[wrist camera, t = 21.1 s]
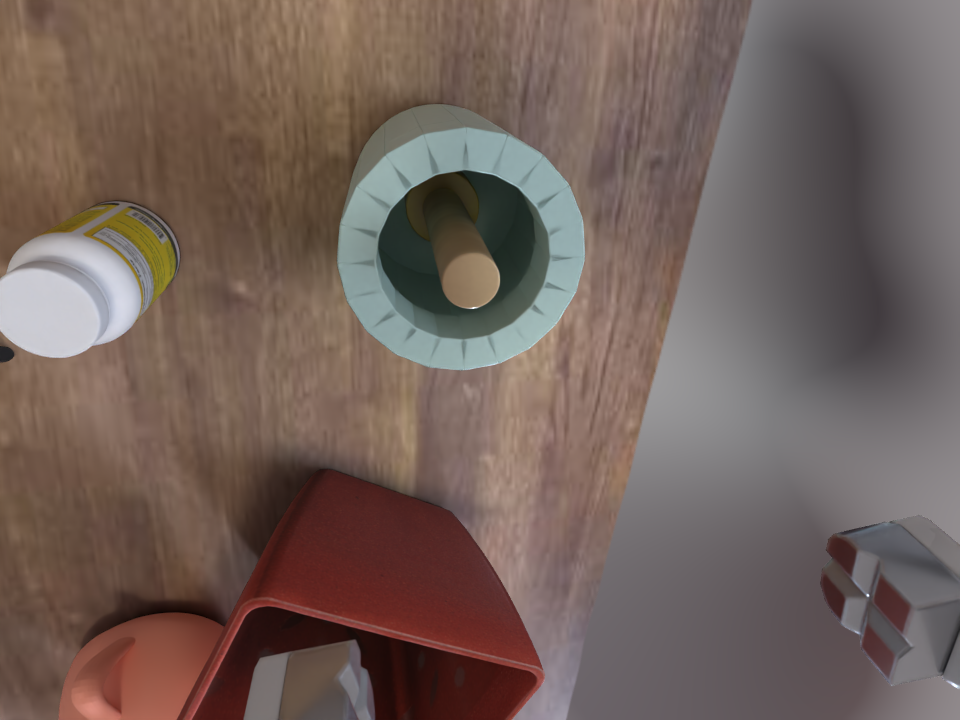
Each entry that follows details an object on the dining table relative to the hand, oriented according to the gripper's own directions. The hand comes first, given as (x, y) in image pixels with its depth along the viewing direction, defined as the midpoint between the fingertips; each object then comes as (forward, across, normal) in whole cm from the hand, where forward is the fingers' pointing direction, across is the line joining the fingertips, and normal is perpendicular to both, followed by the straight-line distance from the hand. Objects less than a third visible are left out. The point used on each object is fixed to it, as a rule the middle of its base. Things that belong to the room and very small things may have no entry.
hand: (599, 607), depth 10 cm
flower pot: (+33, +12, +28) cm, 45 cm away
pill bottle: (+33, +20, 0) cm, 39 cm away
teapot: (+33, +31, +38) cm, 59 cm away
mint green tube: (+33, 0, 0) cm, 33 cm away
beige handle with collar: (+32, 0, 0) cm, 32 cm away
